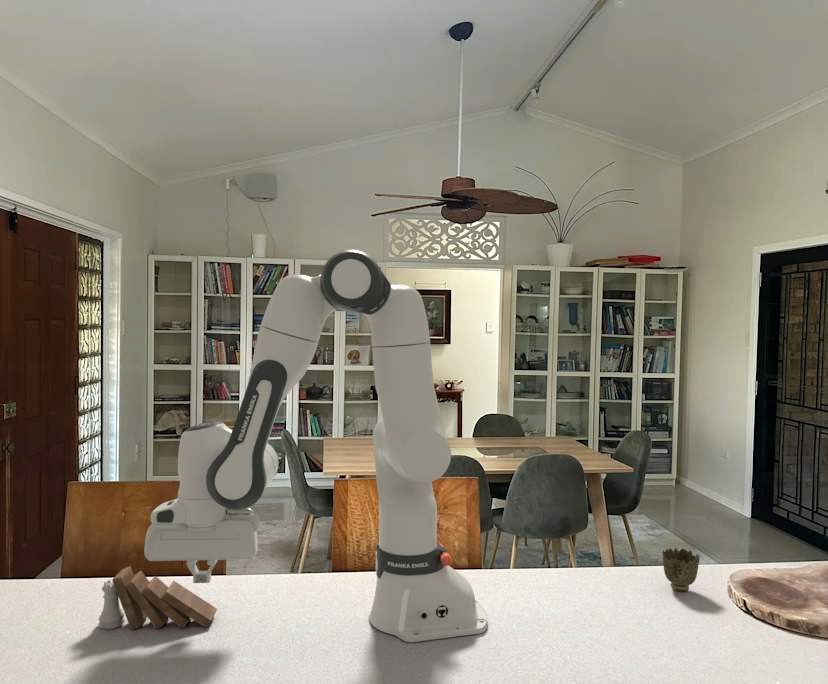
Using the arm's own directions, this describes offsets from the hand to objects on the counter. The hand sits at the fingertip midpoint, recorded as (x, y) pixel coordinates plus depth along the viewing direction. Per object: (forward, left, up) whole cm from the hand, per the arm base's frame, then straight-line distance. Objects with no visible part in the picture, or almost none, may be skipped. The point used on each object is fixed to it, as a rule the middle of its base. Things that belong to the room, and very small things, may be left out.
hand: (202, 581), depth 121 cm
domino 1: (+11, 0, -7) cm, 13 cm away
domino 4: (-2, 0, -7) cm, 7 cm away
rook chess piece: (+16, 0, -8) cm, 18 cm away
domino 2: (+7, 0, -7) cm, 10 cm away
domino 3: (+2, 0, -7) cm, 8 cm away
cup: (-99, -9, -8) cm, 99 cm away
